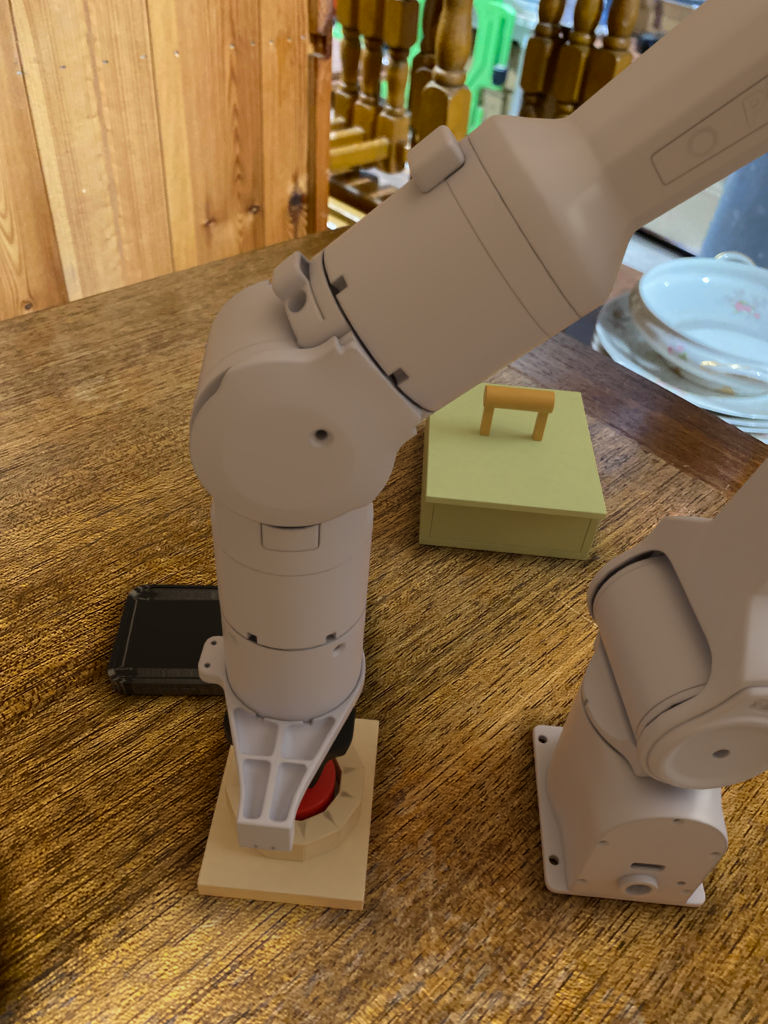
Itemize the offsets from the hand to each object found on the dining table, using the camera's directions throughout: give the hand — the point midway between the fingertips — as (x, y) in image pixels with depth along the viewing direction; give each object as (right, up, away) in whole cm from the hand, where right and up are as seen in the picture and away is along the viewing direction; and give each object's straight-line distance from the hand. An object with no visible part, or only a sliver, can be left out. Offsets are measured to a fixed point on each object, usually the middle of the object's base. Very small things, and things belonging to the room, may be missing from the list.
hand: (295, 774), depth 39 cm
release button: (0, -1, +1) cm, 2 cm away
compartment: (+14, +15, +23) cm, 31 cm away
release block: (0, -2, +2) cm, 3 cm away
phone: (-4, +5, +10) cm, 12 cm away
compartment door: (+14, +18, +20) cm, 30 cm away
